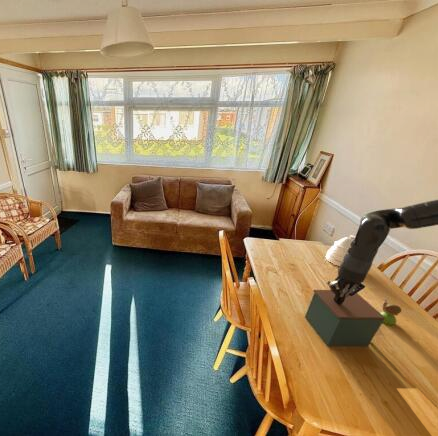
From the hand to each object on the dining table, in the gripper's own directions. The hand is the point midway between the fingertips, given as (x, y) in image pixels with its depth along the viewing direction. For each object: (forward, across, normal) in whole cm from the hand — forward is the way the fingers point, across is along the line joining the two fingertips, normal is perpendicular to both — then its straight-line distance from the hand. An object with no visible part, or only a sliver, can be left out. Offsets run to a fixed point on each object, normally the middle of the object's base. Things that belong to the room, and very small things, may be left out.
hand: (337, 302), depth 88 cm
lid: (+1, +4, 0) cm, 4 cm away
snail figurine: (+16, +28, +4) cm, 32 cm away
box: (+16, +4, 0) cm, 16 cm away
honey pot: (+16, +43, +49) cm, 67 cm away
